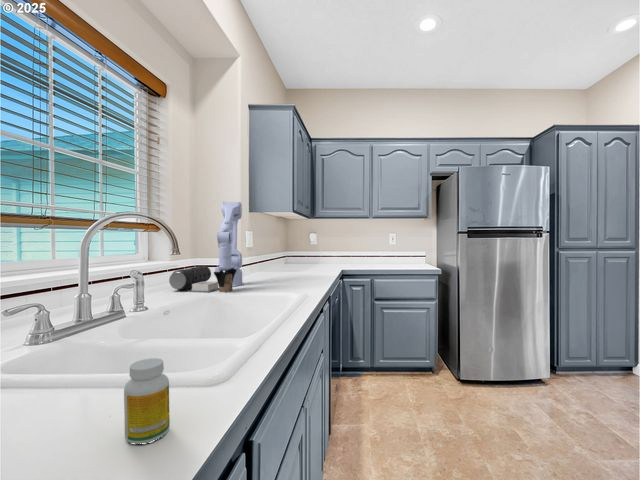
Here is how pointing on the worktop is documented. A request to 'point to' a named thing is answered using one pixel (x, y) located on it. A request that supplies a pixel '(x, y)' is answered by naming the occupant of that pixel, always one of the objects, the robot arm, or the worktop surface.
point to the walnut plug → (227, 284)
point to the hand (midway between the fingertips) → (225, 285)
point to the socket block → (204, 287)
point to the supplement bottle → (146, 402)
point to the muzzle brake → (189, 277)
